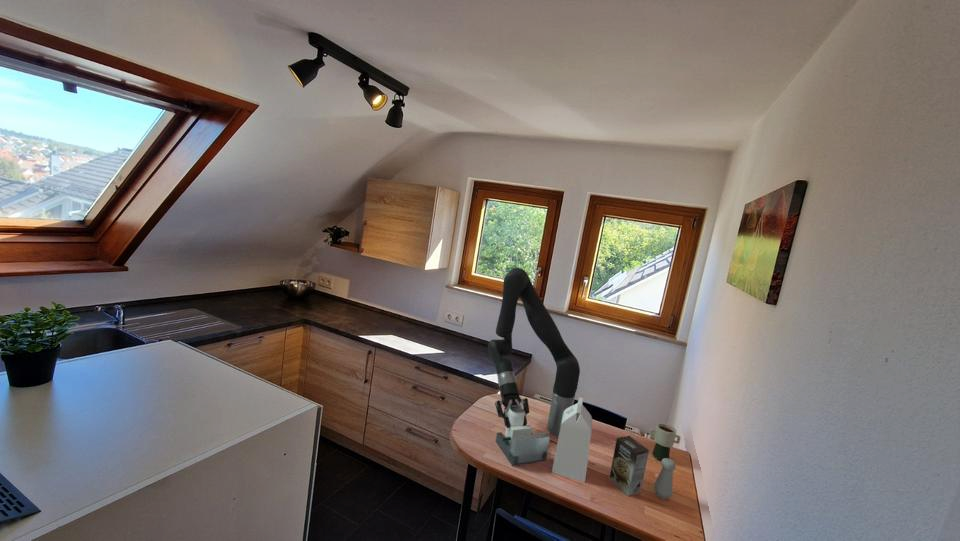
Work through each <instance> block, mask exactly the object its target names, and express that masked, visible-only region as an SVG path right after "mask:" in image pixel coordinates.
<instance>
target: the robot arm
mask: <svg viewBox="0 0 960 541" xmlns="http://www.w3.org/2000/svg"><path fill="white" fill-rule="evenodd" d="M502 285H503V288H502V299H501V306H500V311H499V315H498V318H497V319H498V320H497V324H496V328H495V334H496V335H497V336H498V337H500V338H503V339H490V341H489V342H488V345H487V352H488V353H489V356H490V358H491V360H492V362H493V365H494V366H495V370H496V375H497V384H498V388H499V394H500V397H501V400H499V399H498V400H497V401H495V402H494V405H495V408H496V412H497V415H498V418H503V422H504V427H505V428H506V427H507V428H510V421H509V417H508V412H509V409H510V407H511V406H513V405H518V406H521V407H523V408H524V413H525V416H524V423H523V426H527V425H528V419H527V415H528V414H529V413H530V407H529V400H528V398H527V397H525V398H522V397H520V392H519V386H518V381H517V378H516V375H515V372H514V371H515V370H514V368H513V362H512V361H511V359H509V358H506V357H505V356H510V355H511V353H512V352H513V337H512V336H513V330H514V326H515V321H516V313H517V312H516V310H517V305H518V301H519V298H520V300H521V302H522V304H523V307H524V308H523V309H524V311H525V312H524V313H525V315H526V319H527V320H528V323H529V325H530V327H531V329H532V330H533V332H534V333H535V335H536V337H537V338H539V340H540V341H541V343H543V344H544V345H545V347H546V348H547V349H548V351H549V352H550V354H551V357H552V358H553V360H554V362H555V365H556V372H555V380H554V384H553V388H552V393H551V400H550V401H551V402H550V407H549V408H550V409H549V413H548V421H547V426H546V430H547V431H548V432H549V433H550V434H551V435H553V436H556V437H559V432H560V427H561V422H562V417H563V413H564V410H565V409H567V408H569V407H571V406H573V405H575V404H574V403H575V398H576V392H577V390H578V386H579V380H580V379H579V378H580V374H581V368H580V364H579V361H578V359H577V358H576V356H575V355H574V354H573V352H572V351H571V349H570V348H569V347H568V345H567V344H566V342H565V341H564V339H563V337H562V335H561V332H560V330H559V329H558V327H557V326H558V325H557V324H556V323H555V321H554V318H553V317H552V316H551V314H550V313H549V311H548V309H547V308H546V306H545V305H544V303H543V301H542V300H541V298H540V297H539V295H538V293H537V292H536V290H535V287H534V286H533V282H532V281H531V278H530V277H529V274H528V273H527V271H525V270H524V269H523V268H520V267H515V268H514V267H513V268H512V269H511V270H510V271H509V272H507V273H506V274H505V275H504V278H503V284H502ZM503 356H504V357H503ZM502 406H503V407H504V410H503V408H502Z"/></svg>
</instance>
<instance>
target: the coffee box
mask: <svg viewBox="0 0 960 541" xmlns="http://www.w3.org/2000/svg"><path fill="white" fill-rule="evenodd" d="M615 441H616V442H615V446H614V452H613V457H612V463H611V467H610V472H609V478H608V480H610V482H612V483H613V484H614V485H615V486H616V487H618V488H619V489H620V490H621V491H622V492H623V493H624V494H625V495H626V496H627V497H629V496H633V495H637V494H640V493H641V492H642V487H643V481H644V477H645V473H646V466H647V463H648V458H649V454H650V450H649V449H648V448H647V447H645V446H644V445H643V444H642V443H640V442H639V441H637V440H636V439H635V438H633V437H632V436H630V435H626V436H625V435H624V436H620V437H617V438H616V440H615Z"/></svg>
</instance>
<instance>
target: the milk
mask: <svg viewBox="0 0 960 541" xmlns="http://www.w3.org/2000/svg"><path fill="white" fill-rule="evenodd" d="M583 399H584V398H583V397H578V401H577V403H575V404H574V405H573V406H571V407H569V408H567V409H565V410H564V413H563V417H562V422H561V427H560V432H559V436H558V437H557V438H558V439H557V442H556V443H557V444H556V448H555V454H554V459H553V464H552V469H551V473H552V474H556V475H559V476H563V477H566V478H570V479H573V480H577V481H579V482H582V483H585V482H586V477H587V469H588V462H589V454H590V447H591V446H590V444H591V439H592V428H593V417H592V415H591V414H590V412H589V411H588V410H587V408H586V407H585V406H584V405H583V401H584V400H583Z"/></svg>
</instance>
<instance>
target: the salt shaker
mask: <svg viewBox="0 0 960 541" xmlns="http://www.w3.org/2000/svg"><path fill="white" fill-rule="evenodd" d="M660 464H661V466H662V467H661V469H660V472H659V473H658V476H657V478H656V479H655V482H654V483H653V489H654V493H655V495H656V496H657V497H658V498H659V499H662V500H668V499H670V497H671V496H672V495H673V493H674V492H673V489H674V488H673V485H674V484H673V479H674V471H675V470H676V467H677V466H676V462H675V461H674V460H673V459H670V458H669V459H668V458H664V459H662V461H661V463H660Z"/></svg>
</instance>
